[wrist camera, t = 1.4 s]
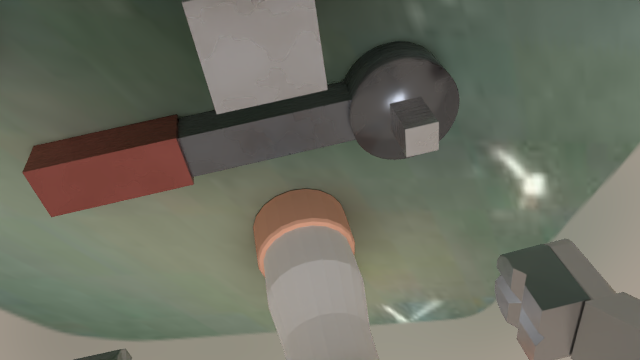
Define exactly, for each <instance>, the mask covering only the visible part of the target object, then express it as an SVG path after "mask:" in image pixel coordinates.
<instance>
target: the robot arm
mask: <svg viewBox="0 0 640 360" xmlns="http://www.w3.org/2000/svg"><path fill="white" fill-rule="evenodd" d="M497 269H498V270H499V272H500V273H501V275H500V276H499V277H498V278H497V280H496V281H495V294H496V299H497V303H498V306H499V308H500V310H501V313H502V314H503V316H504V318H505V320H506V321H507V322H508V323H510V324H511V325H513V326H515V327H517V328H518V334H517V340H518V342H519V344H520V345H521V347H522V349H523V350H524V352H525V354H526V355H527V357H528V359H529V360H555V359H560V358H564V357H568V356H571V359H573V360H640V300H639V299H637V298H635V297H633V296H631V295H629V294H627V293H624V292H621V293H616V292H615V291H614V290H613V289H612V288H611V286H610V285H609V284H608V283H607V282H606V280H605V279H604V278H603V277H602V276H601V275H600V274H599V272H598V271H597V270H596V269H595V268H594V267H593V265H592V264H591V263H590V262H589V261H588V259H587V258H586V257H585V256H584V255H583V254H582V253H581V251H580V250H579V249H578V248H577V247H576V245H575V244H574V243H573V242H572V241H570V240H569V239H563V240H559V241H554V242H550V243H546V244H540V245H536V246H533V247H529V248H525V249H521V250H517V251H513V252H510V253H506V254H502V255H500V256H499V258H498V260H497ZM74 360H132V357H131V356H130V354H129V353H128V351H127V350H126V349H120V350H116V351H111V352H106V353H102V354H97V355H93V356H88V357H84V358H79V359H74Z"/></svg>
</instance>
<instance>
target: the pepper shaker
mask: <svg viewBox="0 0 640 360" xmlns="http://www.w3.org/2000/svg"><path fill="white" fill-rule="evenodd" d="M253 230H254V237H255V245H256V252H257V259H258V266H259V269H260V271H261V272H262V274H263V275H264V277H265V280H266V290H267V299H268V306H269V310H270V312H271V315H272V318H273V321H274V324H275V327H276V330H277V332H278V335H279V338H280V341H281V344H282V347H283V350H284V352H285V358H286V360H379V357H378V354H377V350H376V347H375V344H374V341H373V338H372V334H371V331H370V326H369V318H368V311H367V304H366V296H365V289H364V281H363V278H362V276H361V273H360V271H359V268H358V265H357V263H356V260H355V257H354V253H355V241H354V238H353V236H352V233H351V230H350V227H349V224H348V221H347V218H346V215H345V213H344V210H343V208H342V206H341V204H340V203H339V202H338V201H337V200H336V199H335V198H334V197H333V196H332V195H329V194H327V193H324V192H322V191H320V190H311V189H300V190H293V191H289V192H286V193H284V194H281V195H279V196H276V197H275V198H273V199H272V200H271V201H269V202H268V203H267V204H265V205H264V206H263V207H262V209H261V210H260V212H259V213H258V214H257V216H256V219H255V222H254V226H253Z"/></svg>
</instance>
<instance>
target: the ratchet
mask: <svg viewBox="0 0 640 360" xmlns="http://www.w3.org/2000/svg"><path fill="white" fill-rule="evenodd" d="M327 88H328V90H325V91H320V92H316V93H311V94H307V95H302V96H298V97H293V98H289V99H284V100H280V101H275V102H271V103H266V104H262V105H257V106H253V107H248V108H244V109H239V110H235V111H230V112H225V113H221V114H216V111H215V110H214V111H209V112H205V113H200V114H196V115H191V116H187V117H182V118H178V116H177V114H176V115H172V116H167V117H163V118H158V119H154V120H149V121H145V122H140V123H136V124H131V125H126V126H122V127H117V128H113V129H108V130H104V131H99V132H95V133H90V134H86V135H81V136H77V137H72V138H68V139H63V140H59V141H54V142H50V143H45V144H41V145H36V146H34V147H33V149H32V151H31V154H30V156H29V158H28V161H27V163H26V165H25V168H24V170H23V172H22V173H23V174H24V176H25V177H26V179H27V180H28V182H29V183H30V185H31V187H32V188H33V190H34V191H35V193H36V194H37V196H38V197H39V199H40V200H41V202H42V204H43V205H44V207H45V208H46V210H47V211H48V213H49V214H50V216H51V217H54V216H58V215H63V214H67V213H71V212H76V211H80V210H84V209H89V208H93V207H97V206H102V205H106V204H110V203H115V202H119V201H124V200H128V199H132V198H137V197H141V196H145V195H150V194H154V193H158V192H163V191H167V190H171V189H176V188H180V187H184V186H189V185H193V184H194V176H199V175H203V174H207V173H212V172H216V171H220V170H225V169H229V168H234V167H238V166H242V165H247V164H251V163H255V162H260V161H264V160H268V159H273V158H277V157H282V156H286V155H290V154H295V153H299V152H303V151H308V150H312V149H317V148H321V147H325V146H330V145H334V144H338V143H343V142H347V141H351V140H357V142H358V143H359V145H360V146H361V147H362V148H363V149H364V150H365V151H367V152H368V153H370V154H372V155H374V156H376V157H379V158H383V159H393V160H396V159H405V158H409V157H413V156H416V155H419V154H423V153H427V152H432V151H436V150H439V141H440V140H441V139H442V138H443V137H444V136H445V135H446V133H447V132H448V131H449V129H450V128H451V126H452V124H453V123H454V121H455V118H456V116H457V112H458V108H459V93H458V88H457V86H456V83H455V82H454V80H453V78H452V77H451V76H450V75H449V73H448V72H447V71H446V70H445V69H444V68H443V66H442V65H441V64H440V63H439V62H438V61H437V59H436V58H435V57H434V56H433V55H432V54H431V53H430V52H429V51H428V50H427V49H425V48H424V47H422V46H420V45H417V44H414V43H410V42H391V43H387V44H383V45H380V46H378V47H375V48H374V49H372V50H370V51H368V52H367V53H366V54H364V55H363V56H362V57H360V58H359V59H358V60H357V61H356V62H355V64H354V65H353V66H352V67H351V69H350V70H349V72H348V73H347V75H346V77H345V80H344V82H340V83H336V84H331V85H327Z"/></svg>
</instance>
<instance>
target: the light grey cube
mask: <svg viewBox="0 0 640 360" xmlns="http://www.w3.org/2000/svg"><path fill="white" fill-rule="evenodd" d="M182 5H183V8H184V11H185V14H186V18H187V21H188V24H189V27H190V30H191V34H192V37H193V40H194V43H195V46H196V50H197V53H198V56H199V59H200V62H201V66H202V69H203V72H204V75H205V78H206V82H207V85H208V88H209V91H210V95H211V98H212V101H213V104H214V107H215V111H216V114H221V113H225V112H230V111H235V110H239V109H244V108H248V107H253V106H257V105H262V104H266V103H271V102H275V101H280V100H284V99H289V98H293V97H298V96H302V95H307V94H311V93H316V92H320V91H325V90H328V88H327V82H326V75H325V68H324V61H323V54H322V47H321V41H320V34H319V27H318V20H317V13H316V7H315V0H182Z"/></svg>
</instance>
